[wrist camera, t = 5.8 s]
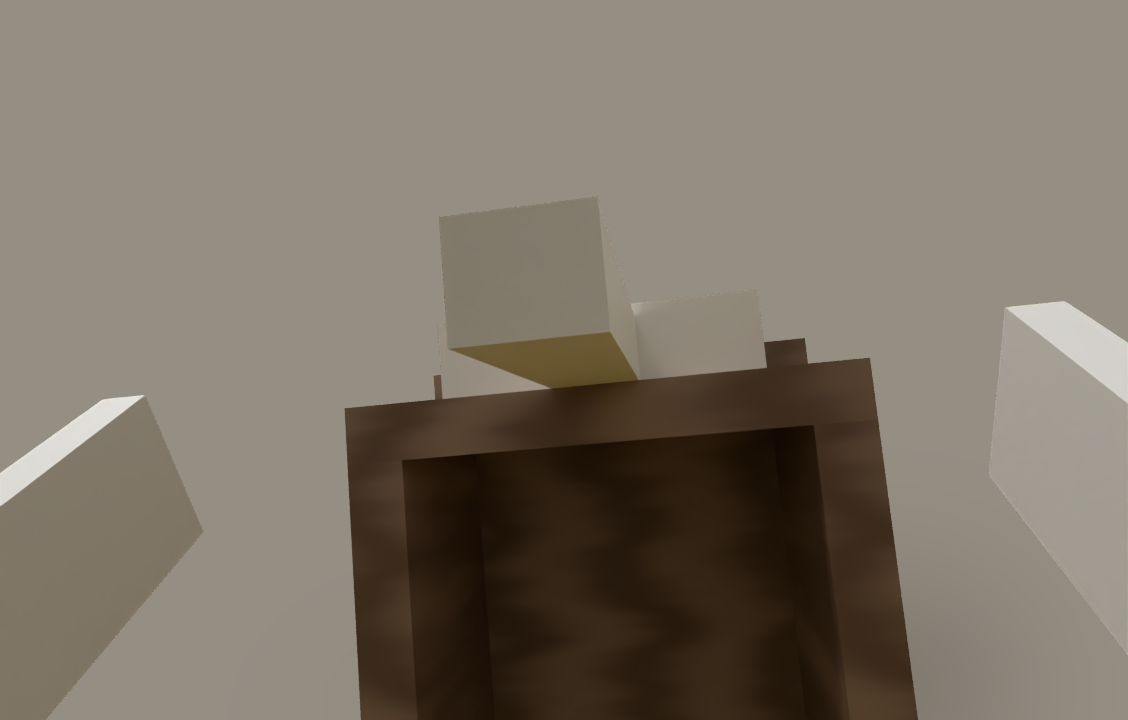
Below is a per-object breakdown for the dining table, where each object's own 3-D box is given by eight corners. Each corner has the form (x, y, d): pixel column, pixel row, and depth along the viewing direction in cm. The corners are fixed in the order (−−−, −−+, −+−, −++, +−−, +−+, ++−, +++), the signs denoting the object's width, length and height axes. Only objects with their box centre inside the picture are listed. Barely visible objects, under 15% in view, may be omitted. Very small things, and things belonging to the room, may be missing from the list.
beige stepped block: (220, 372, 14) (216, 221, 15) (492, 409, 36) (488, 348, 36) (873, 304, 13) (850, 135, 13) (745, 386, 34) (737, 322, 35)
